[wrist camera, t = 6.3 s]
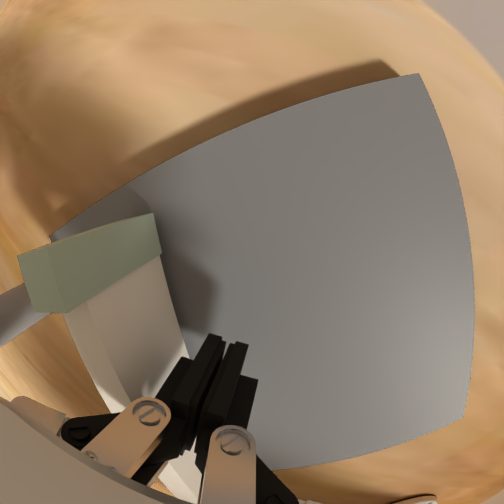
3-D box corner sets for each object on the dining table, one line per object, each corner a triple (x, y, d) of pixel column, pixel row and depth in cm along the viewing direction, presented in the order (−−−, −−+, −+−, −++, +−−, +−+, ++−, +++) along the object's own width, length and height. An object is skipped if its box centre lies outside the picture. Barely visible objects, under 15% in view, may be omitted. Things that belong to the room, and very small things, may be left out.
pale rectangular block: (230, 456, 15) (208, 526, 9) (205, 453, 15) (180, 519, 10) (153, 212, 11) (47, 247, 6) (121, 220, 12) (17, 255, 6)
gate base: (456, 404, 14) (495, 494, 5) (202, 458, 19) (170, 539, 10) (407, 82, 10) (518, -5, 1) (65, 230, 15) (-50, 274, 6)
